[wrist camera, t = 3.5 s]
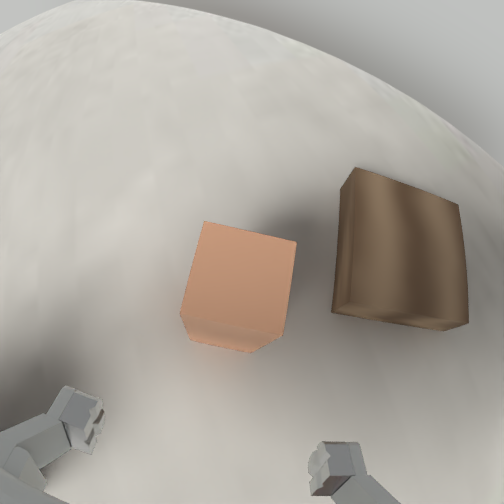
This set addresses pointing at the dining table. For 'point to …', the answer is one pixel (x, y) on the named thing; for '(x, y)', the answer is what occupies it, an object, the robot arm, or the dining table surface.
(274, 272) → the pillar block
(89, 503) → the dining table surface
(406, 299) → the base block
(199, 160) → the dining table surface
